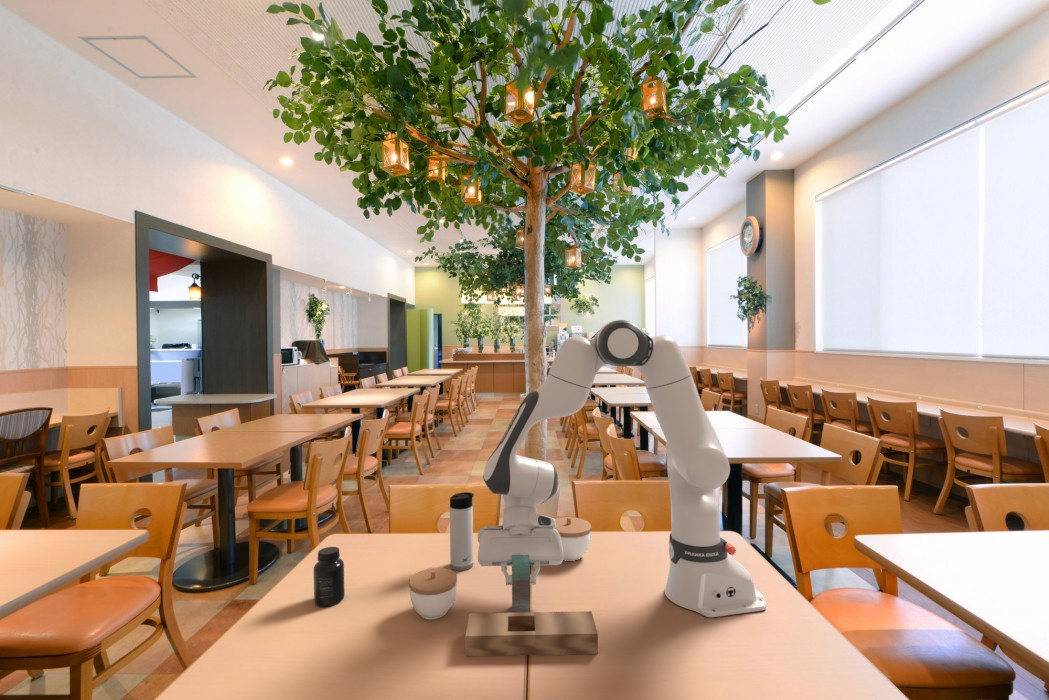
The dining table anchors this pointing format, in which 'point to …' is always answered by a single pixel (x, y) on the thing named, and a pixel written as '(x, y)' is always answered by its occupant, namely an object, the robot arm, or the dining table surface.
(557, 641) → the wooden peg hole block
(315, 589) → the supplement bottle
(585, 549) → the lidded bowl
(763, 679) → the dining table surface
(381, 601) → the dining table surface
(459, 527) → the travel mug
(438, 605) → the lidded jar
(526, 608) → the teal square peg
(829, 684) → the dining table surface
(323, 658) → the dining table surface
